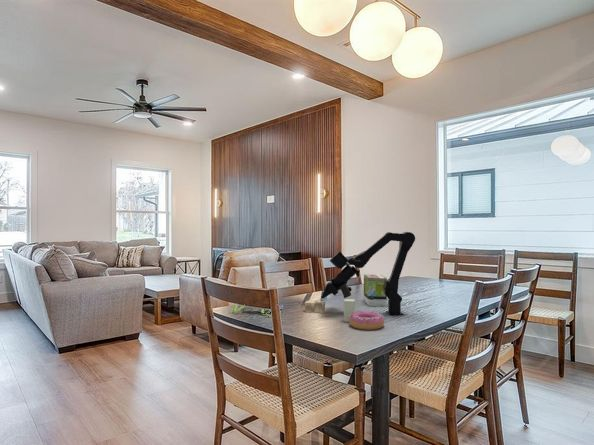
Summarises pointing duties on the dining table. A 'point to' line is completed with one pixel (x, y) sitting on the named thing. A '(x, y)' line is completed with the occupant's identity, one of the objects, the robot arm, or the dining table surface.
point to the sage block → (348, 308)
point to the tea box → (374, 290)
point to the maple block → (315, 306)
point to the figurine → (259, 310)
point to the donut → (366, 320)
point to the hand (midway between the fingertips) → (321, 297)
